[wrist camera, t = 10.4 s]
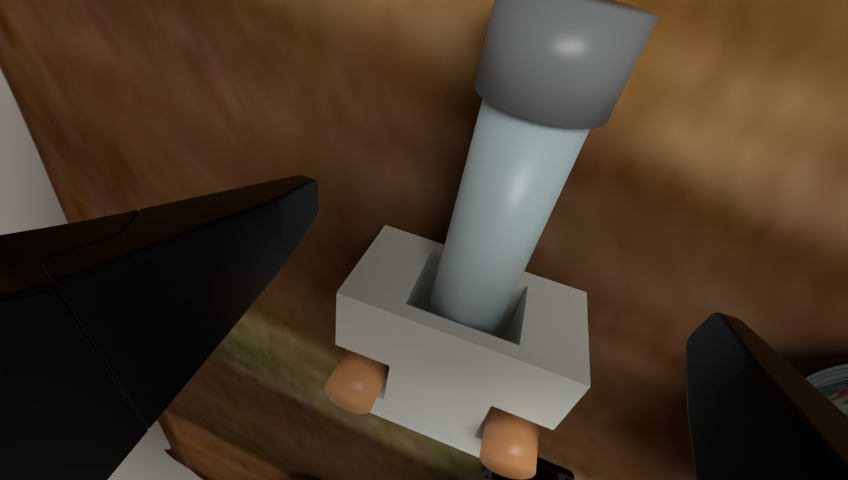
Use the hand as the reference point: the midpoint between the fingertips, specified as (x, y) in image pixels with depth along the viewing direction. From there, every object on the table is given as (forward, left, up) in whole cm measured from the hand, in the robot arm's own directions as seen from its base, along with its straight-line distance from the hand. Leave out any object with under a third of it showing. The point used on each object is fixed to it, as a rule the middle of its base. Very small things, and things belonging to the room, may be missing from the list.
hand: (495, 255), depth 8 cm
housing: (-13, 0, -10) cm, 17 cm away
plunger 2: (-14, -4, -5) cm, 16 cm away
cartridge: (-3, 0, -9) cm, 10 cm away
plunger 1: (-14, +4, -5) cm, 16 cm away
